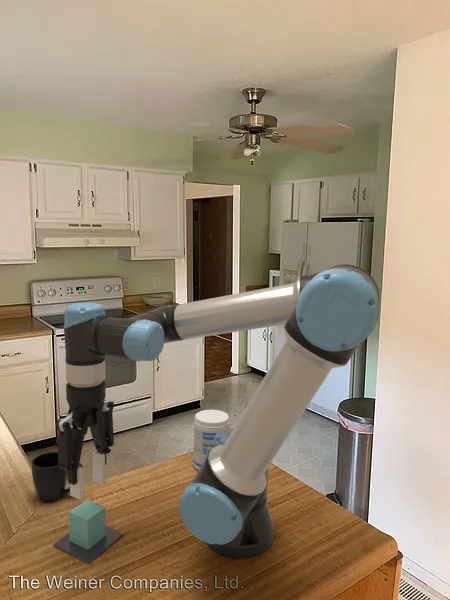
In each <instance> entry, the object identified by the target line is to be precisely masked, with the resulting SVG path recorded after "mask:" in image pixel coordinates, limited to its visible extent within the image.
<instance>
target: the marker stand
mask: <svg viewBox="0 0 450 600" xmlns="http://www.w3.org/2000/svg"><path fill="white" fill-rule="evenodd" d="M124 534H125V533H124V532H121V531H119V530H117V529H115V528H112V527H110V526H108V525H106V536H105V537H103V538H102V539H101V540H100V541H98V542H97V543H96V544H95V545H93V546H92V547H91V548H90V549H88V550H87V549H85V548H83V547H81V546H79V545H77V544H75V543H73V542H71V541H70V537H69V532H68V533H67V534H65V535H64V536H63V537H62V538H60V539H59V540H57V541H56V542H54V543H53V547H54V548H56V549H58V550H60V551H62V552H64V553H65V554H68V555H70V556H72V557H74V558H77V559H78V560H80V561H82V562H84V563H86V564H89V565H90V564H92V563H93V562H94V561H95V560H97V558H99V557H100V556H101V555H102V554H104V552H106V551H108V549H109V548H111V546H113V545H114V544H115V543H116V542H118V541H119V540H120V539H121V538H122V537H124V536H125V535H124Z"/></svg>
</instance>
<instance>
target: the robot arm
mask: <svg viewBox="0 0 450 600" xmlns="http://www.w3.org/2000/svg"><path fill="white" fill-rule="evenodd" d="M379 312H380V291H379V287H378V284H377V283H376V280H375V279H374V277H373V276H372V275H371V274H370V273H369V272H368V271H366V270H365V269H363V268H362V267H359V266H357V265H354V264H353V265H352V264H347V263H346V264H338V265H334V266H331V267H329V268H327V269H325V270H322V271H318V272H316V273H315V272H314V273H310V274H307V275H306V274H305V275H302V276H298V278H297V279H296V280H295V282H293V283H288V284H281V285H277V286H272V287H266V288H260V289H255V290H250V291H245V292H239V293H233V294H228V295H223V296H218V297H213V298H206V299H201V300H195V301H191V302H184V303H180V304H176V305H162V306H161V305H160V306H157V307H156V308H154V309H151V310H149V311H146V312H143V313H140V314H137V315H135V316H134V315H133V316H131V317H127V318H126V317H125V318H124V317H113V316H109V315H106V312H105V307H104V305H103V304H101V303H98V302H97V303H96V302H78V303H73V304H70V305H68V306H66V307H65V309H64V325H63V333H64V335H63V337H64V347H65V382H66V384H65V397H66V398H65V399H66V402H67V404H68V411H67V415H66V417H64V418H63V419H57V420H56V422H55V426H56V429H57V433H58V435H57V436H58V437H57V439H58V441H57V448H58V449H57V450H58V451H57V452H58V467H59V468H61V469H64V470H66V471H67V483H68V484H69V487H70V493H69V495H70V497H73V498H75V499H78V500H82V499H83V497H84V492H83V491H84V490H83V489H84V488H83V483H84V482H83V471H82V467H79V463H81V462H80V461H81V456H82V451H83V445H84V442H85V441H84V439H85V436H86V435H87V434H88V430H90V433H91V437H92V440H93V445H94V448H95V451H92V481H93V482H95V483H97V484H100V485H104V484H106V466H107V463H108V462H107V455H109V454H110V453H111V448H110V447H113V446H114V444H115V440H114V439H115V438H114V422H113V421H114V419H113V418H114V417H113V411H114V405H115V402H114V401H111V400H108V399H106V395H107V394H106V381H105V379H106V357H111V358H119V359H125V360H131V361H135V362H141V361H142V362H153V361H155V360H157V359H158V358H159V356H160V354H161V353H162V352H163V349H164V344H167V343H173V342H180V341H184V340H190V339H197V338H203V337H204V338H205V337H210V336H217V335H223V334H231V333H236V332H237V333H238V332H244V331H249V330H250V331H252V330H256V329H262V328H269V327H270V328H271V327H277V326H282V325H283V331H284V335H285V338H286V339H285V340H286V341H285V342H284V343H283V346H282V347H281V349H280V351H279V353H278V354H277V356H276V357H275V358H274V360H273V362H272V364H271V366H270V367H269V369H268V371H267V372H266V373H265V376H264V377H263V379H262V380H261V382H260V384H259V385H258V388H257V389H256V391H255V392H254V394H253V395H252V397H251V399H250V401H249V403H248V404H247V406H246V407H245V409H244V410H243V413H242V414H241V415H240V418H239V419H238V420H237V422H236V425H234V428H229V429H226V430H222V431H220V432H218V433H217V434H216V435H215V437H214V442H213V445H214V448H213V449H212V450H211V451H210V453H209V454H208V456H207V458H206V460H205V461H204V463H203V464H202V466H201V468H200V470H197V471H198V472H197V473H196V475H195V476H194V477H193V479H192V480H191V482H190V483H189V485H188V486H186V487H185V488H184V490H183V492H182V495H181V497H180V498H179V499H180V500H179V504H178V505H179V506H178V509H179V514H180V515H179V516H181V518H182V522H183V524H184V526H185V527H186V529H187V530H188V531H189V533H190V534H192V535H193V536H194V537H195V538H197V539H198V540H200V541H202V542H204V543H206V544H207V545H208V546H209V547H210V548H211V549H212V550H213V551H215V552H216V553H218V554H220V555H223V556H226V557H230V558H234V559H235V558H236V559H241V558H242V559H243V558H244V559H245V558H251V557H255V556H258V555H260V554H262V553H264V552H266V551H267V550H268V549H269V548H270V547H271V546H272V544H273V541H274V532H275V531H274V529H275V527H274V522H273V520H272V519H273V518H272V515H271V512H270V509H269V505H268V483H269V467H270V465H271V463H272V462H273V460H274V459H275V458H276V456H277V454H278V453H279V451H280V450H281V448H282V446H283V445H284V443H285V442H286V441H287V438H288V437H289V436H290V434H291V433H292V432H293V429H294V428H295V427H296V425H297V424H298V422H299V420H300V418H301V417H302V415H304V413H305V411H306V409H307V408H308V406H309V405H310V404H311V402H312V401H313V399H314V397H315V395H316V394H317V392H318V391H319V389H320V388H321V386H322V385H323V383H324V381H326V378H327V377H328V375H329V374H330V372H331V371H332V369H336V368H342V367H345V366H346V365H347V364H348V363H349V361H350V360H351V358H352V356H353V355H354V353H355V352H356V350H357V349H358V348H359V346H360V344H361V343H363V342H365V340H366V339H368V337H370V335H371V334H372V332H373V331H374V329H375V327H376V325H377V323H378V318H379Z"/></svg>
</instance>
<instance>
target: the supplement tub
mask: <svg viewBox="0 0 450 600" xmlns="http://www.w3.org/2000/svg"><path fill="white" fill-rule="evenodd" d="M194 416H195V417H194V423H193V424H194V428H193V451H192V452H193V454H192V455H193V457H192V459H193V460H192V465H193V467H194V468H195V469H196V470H197V471H199V470H200V468H201V466H202V464H203V463H204V461H205V460H206V458H207V456H208V454H209V453H210V451H211V450H212V449H213V448H214V445H213V442H214V437H215V435H216V434H217V433H218V432H220V431H222V430H226V429H230V417H229V414H228V413H227V412H225V411H223V410H219V409H205V410H201V411H198V412H197V413H196V414H195V415H194Z"/></svg>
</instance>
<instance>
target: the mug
mask: <svg viewBox="0 0 450 600" xmlns="http://www.w3.org/2000/svg"><path fill="white" fill-rule="evenodd" d="M79 467H82V472H83V468H84V466H83V464H82V463H81V462H80V463H79ZM31 477H32V483H33V485H34V489H35V491H36V494H37V496H38V499H39V501H40V502H42V503H53V502H57V501H59V500H60V499H62V497H63V496H67V495H69V494H70V486H69V487H68V488H66V484H67V482H68V476H67V471H66V470H64V469H61V468H59V467H58V451H48V452H44V453H41V454H38V455H36V456H35V457H34V458H33V459H32V460H31Z"/></svg>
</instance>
